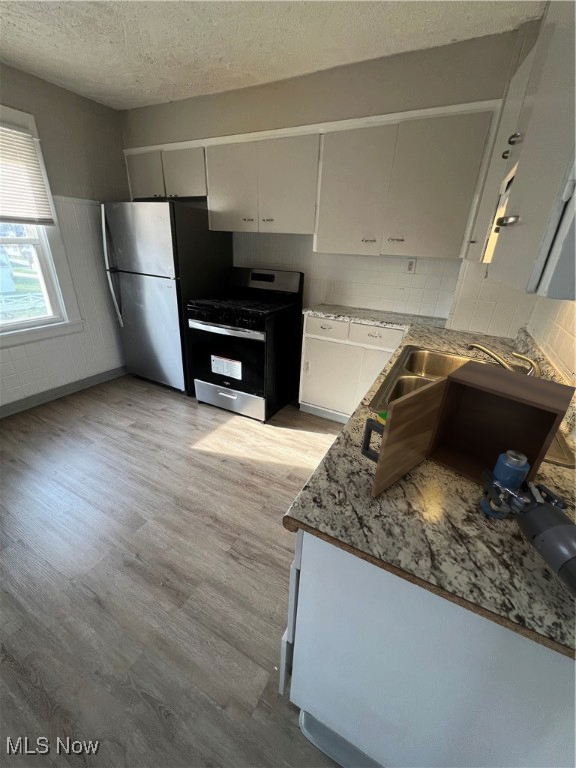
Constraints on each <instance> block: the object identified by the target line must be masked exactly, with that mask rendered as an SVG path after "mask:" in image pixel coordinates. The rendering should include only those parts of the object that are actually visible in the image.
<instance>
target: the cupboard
mask: <svg viewBox="0 0 576 768" xmlns="http://www.w3.org/2000/svg"><path fill="white" fill-rule="evenodd" d="M446 377H448V380H447V383H446V387H445V390H444V394H443V397H442V401H441V404H440V408H439V411H438V415H437V418H436V422H435V425H434V429H433V432H432V436H431V439H430V443H429V447H428V450H427V454H426V457H425V460H428V461H430V462H433V463H435V464H437V465H438V466H441V467H442V468H445V469H447V470H449V471H451V472H453V473H455V474H456V475H459V476H461V477H463V478H465V479H467V480H469V481H471V482H473V483H475V484H477V485H480V486H481V487H483V488H484V487H485V481H484V480H483V479H482V477H481V475H482V473H483V470H484V469H485V468H486V469H489V470H490V471H491V472H493V470H494V468H495V465H496V463H497V460H498V458H499V456H500V455H501V454H505V453H507V451H509V450H514V451H517V452H520V453H522V454H524V455H525V456H526V457H527V461H526V462H527V463H528V464H529V466H530V469H529V471H528V473H527V475H526V477H525V478H526V479H527V480H528V481H530V482H532V483H534V481H535V478H536V476H537V474H538V472H539V470H540V468H541V466H542V463H543V461H544V460H545V457H546V455H547V454H548V451H549V449H550V447H551V445H552V443H553V441H554V438H555V437H556V435H557V433H558V431H559V429H560V426H561V424H562V422H563V420H564V418H565V416H566V414H567V412H568V410H569V408H570V406H571V402H572V400H573V397H574V395H575V392H576V387H575V386H571V385H568V384H564V383H560V382H556V381H552V380H549V379H545V378H541V377H538V376H535V375H530V374H526V373H522V372H518V371H514V370H510V369H507V368H503V367H499V366H496V365H492V364H488V363H484V362H481V361H477V360H473V359H469V360H468V361H466V362H465V363H463V364H462V365H461V366H458V368H456V369H455V370H453V371H452V372H451V373H449V374H447V376H446ZM522 490H523V489H520V490H519V493H523V492H522Z"/></svg>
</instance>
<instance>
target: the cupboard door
mask: <svg viewBox="0 0 576 768" xmlns="http://www.w3.org/2000/svg"><path fill="white" fill-rule="evenodd" d="M447 380H448V377H447V376H445V375H444V376H441V377H439V378H437V379H435V380H433V381H431V382H429V383H427V384H425V385H423V386H421V387H419V388H417V389H415V390H412V391H410V392H408V393H407V394H405V395H402V396H400V397H398V398H396V399H394V400H392V401H390V402H389V404H388V408H387V412H388V413H387V418H386V423H385V425H383V424H382V423H380V422H379V421H378V420H375V419H374V418H372V417H368V418H366V421H365V427H364V433H363V437H362V444H361V450H360V454H361V455H362V456H364V457H365V458H367V459H368V460H370V461H372V462H373V463H375V464H376V468H375V472H374V478H373V483H372V488H371V492H370V496H371V497H372V498H377V496H379V495H380V494H382V492H384V491H386V490H387V489H388V488H389V487H391V486H392V485H393V484H394V483H396V482H398V480H400V479H401V478H403V477H404V476H405V475H406V474H408V473H409V472H410V471H412V470H413V469H415V468H416V467H417V466H418V465H419V464H421V463H422V462H423V461H425V460H426V458H425V457H426V454H427V450H428V447H429V443H430V439H431V436H432V432H433V429H434V425H435V422H436V418H437V415H438V411H439V408H440V404H441V401H442V397H443V394H444V390H445V387H446V383H447ZM373 432H374V433H377V434H379V435H380V436H382V438H381V444H380V448H379V452H378V451H376V450H374V449H373V448H371V447H370V445H371V439H372V434H373Z"/></svg>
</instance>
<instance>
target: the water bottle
mask: <svg viewBox="0 0 576 768" xmlns="http://www.w3.org/2000/svg"><path fill="white" fill-rule="evenodd" d="M526 461H527V457H526V456H525V455H524V454H522V453H520V452H517V451H514V450H509V451H507V453H505V454H501V455H500V456H499V458H498V460H497V463H496V465H495V468H494V470H493V472H492V473H493V474H494V476H495V477H496V478H497V479H498V481H499V482H500V483H502V484H503V485H504V486H506V487H507V486H509V487H511V488H512V489H514V490H515V491H516V492H519V490H520V488H521V485H522V483H523V481H524V479H525V477H526V475H527V473H528V471H529V469H530V466H529V464H528V463H527V462H526ZM497 490H498V491H499V492H502V491H501V489H499V488H498V489H497ZM509 496H510V494H508V497H507V500H508V498H509ZM479 506H480V508H481V510H482V511H483V512H484V514H487V515H488V516H489V517H492V518H494V519H500V520H501V519H506V518H507V517H508V515H509V514H508V512H504V511H499V512H498V513H497V514H495V513H493V512H492V511H491V510H490V508H489V506H488V503H487V501H486V499H485V497H484V495H483V494H482V497H481V499H480V501H479Z"/></svg>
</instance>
